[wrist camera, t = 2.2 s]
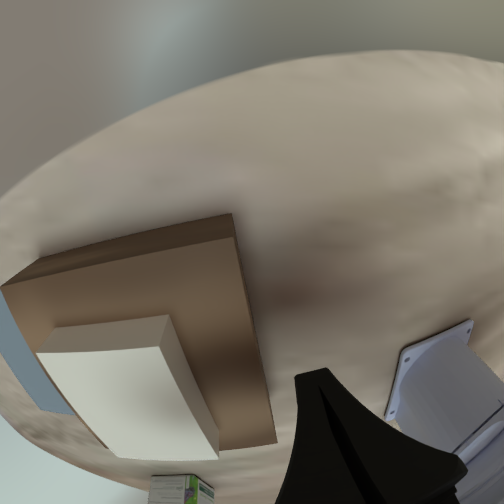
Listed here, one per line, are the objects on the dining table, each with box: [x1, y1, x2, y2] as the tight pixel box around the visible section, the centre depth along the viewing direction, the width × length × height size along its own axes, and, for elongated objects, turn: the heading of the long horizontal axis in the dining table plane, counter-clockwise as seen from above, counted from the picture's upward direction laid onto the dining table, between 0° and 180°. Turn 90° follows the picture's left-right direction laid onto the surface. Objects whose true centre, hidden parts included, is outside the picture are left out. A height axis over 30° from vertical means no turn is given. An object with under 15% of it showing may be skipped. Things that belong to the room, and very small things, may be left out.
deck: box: [0, 213, 278, 451], centre depth 13 cm, size 13×12×4 cm
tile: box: [36, 314, 219, 461], centre depth 10 cm, size 8×6×2 cm
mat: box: [0, 289, 75, 415], centre depth 15 cm, size 12×10×1 cm
